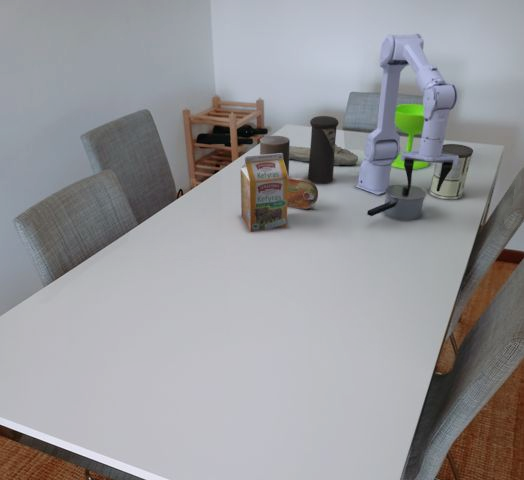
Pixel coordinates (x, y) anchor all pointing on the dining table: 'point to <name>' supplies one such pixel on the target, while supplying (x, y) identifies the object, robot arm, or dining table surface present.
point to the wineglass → (409, 129)
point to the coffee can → (452, 173)
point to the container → (322, 149)
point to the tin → (301, 193)
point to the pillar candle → (276, 147)
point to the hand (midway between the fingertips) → (423, 189)
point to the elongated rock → (339, 157)
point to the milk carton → (264, 192)
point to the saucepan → (401, 202)
